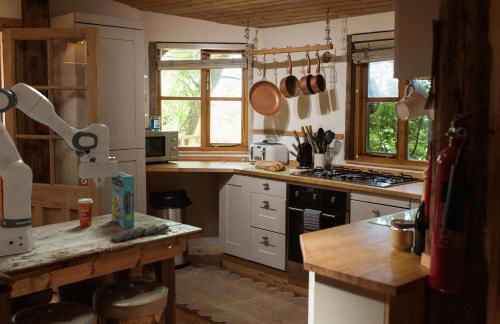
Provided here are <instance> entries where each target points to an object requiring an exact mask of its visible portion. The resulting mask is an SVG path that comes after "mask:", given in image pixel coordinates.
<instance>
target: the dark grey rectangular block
mask: <svg viewBox="0 0 500 324" xmlns="http://www.w3.org/2000/svg"><path fill="white" fill-rule="evenodd" d="M128 235H130V231H128V230H125V229H123V230H121V231H119V232H117V233H116V234H115V235H113V236H111V238H110V240H111V242H115V243H119V242H121V241H123V240H122V239H124V238H125V237H127V236H128Z"/></svg>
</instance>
